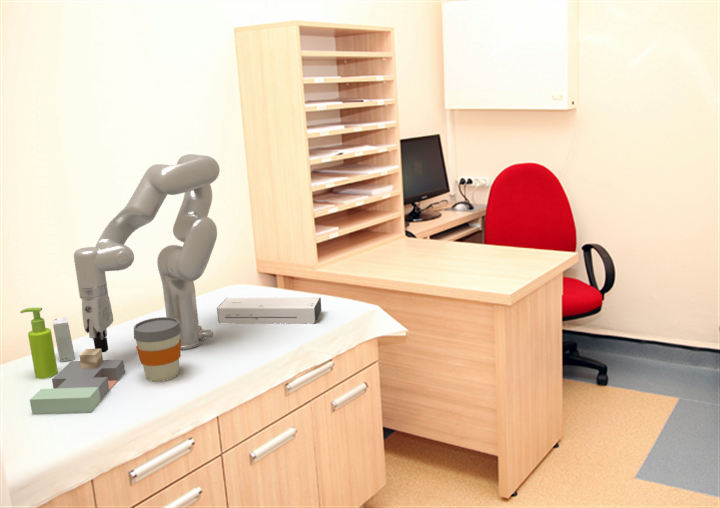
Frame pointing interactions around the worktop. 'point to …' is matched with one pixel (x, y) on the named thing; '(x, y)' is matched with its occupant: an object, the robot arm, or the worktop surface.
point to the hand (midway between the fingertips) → (102, 351)
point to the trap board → (78, 388)
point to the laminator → (269, 310)
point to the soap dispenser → (41, 346)
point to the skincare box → (63, 339)
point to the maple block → (91, 358)
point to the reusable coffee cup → (159, 347)
